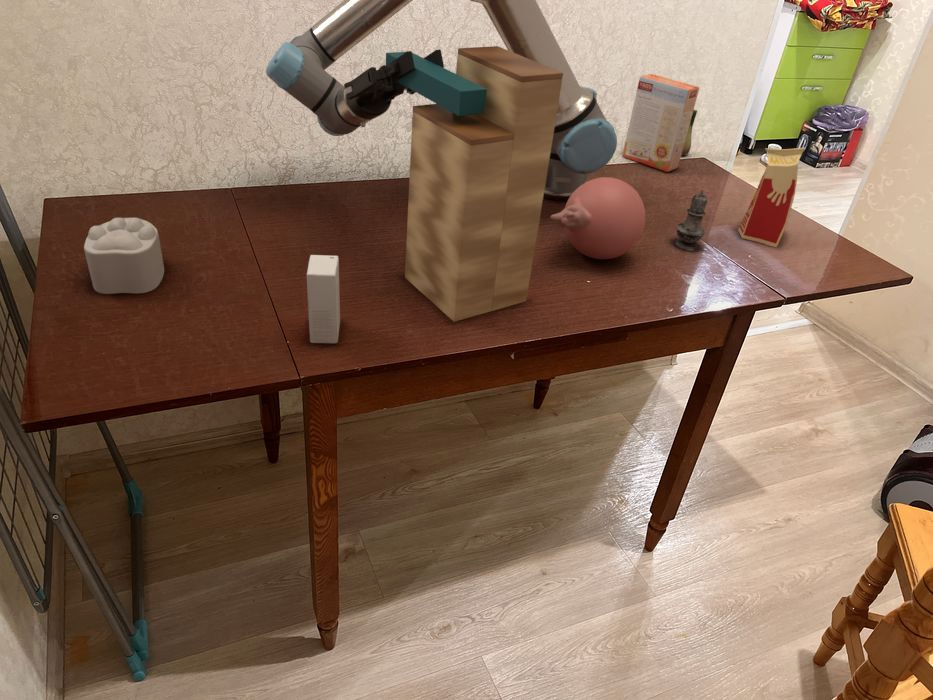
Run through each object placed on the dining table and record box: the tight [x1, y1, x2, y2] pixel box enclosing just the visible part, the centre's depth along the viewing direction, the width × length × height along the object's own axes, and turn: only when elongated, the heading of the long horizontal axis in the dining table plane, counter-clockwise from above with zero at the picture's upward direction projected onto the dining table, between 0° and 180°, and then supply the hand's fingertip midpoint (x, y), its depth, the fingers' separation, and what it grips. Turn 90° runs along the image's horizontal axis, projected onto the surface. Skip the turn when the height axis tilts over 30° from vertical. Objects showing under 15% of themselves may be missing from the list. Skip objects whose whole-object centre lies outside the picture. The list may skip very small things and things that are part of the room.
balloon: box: [550, 176, 646, 260], centre depth 134 cm, size 15×20×15 cm
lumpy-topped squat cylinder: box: [83, 217, 165, 295], centre depth 116 cm, size 10×13×9 cm
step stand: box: [404, 45, 563, 323], centre depth 113 cm, size 16×15×38 cm
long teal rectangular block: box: [385, 51, 487, 116], centre depth 109 cm, size 22×4×4 cm, turn 34°
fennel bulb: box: [681, 109, 698, 156], centre depth 191 cm, size 6×5×12 cm
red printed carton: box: [737, 147, 806, 249], centre depth 149 cm, size 9×9×20 cm
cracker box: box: [622, 73, 700, 173], centre depth 181 cm, size 14×6×21 cm, turn 47°
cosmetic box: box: [306, 254, 341, 344], centre depth 106 cm, size 6×4×12 cm
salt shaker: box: [673, 190, 708, 252], centre depth 144 cm, size 6×6×12 cm
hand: (425, 59), depth 109 cm, fingers closed on long teal rectangular block, 4 cm apart
